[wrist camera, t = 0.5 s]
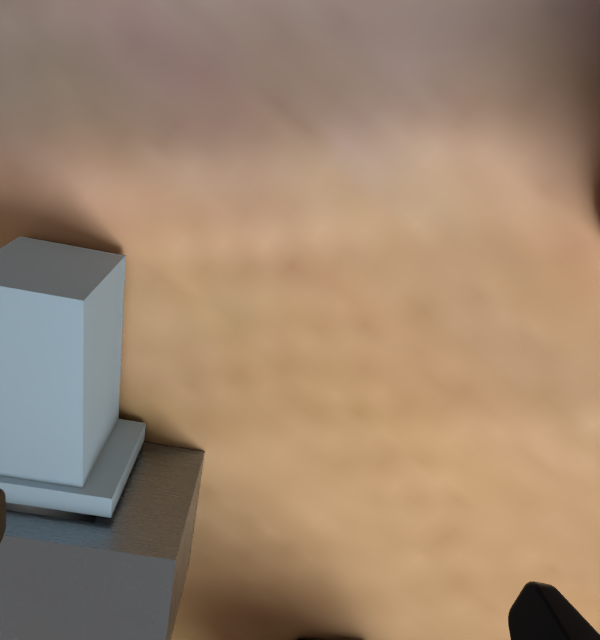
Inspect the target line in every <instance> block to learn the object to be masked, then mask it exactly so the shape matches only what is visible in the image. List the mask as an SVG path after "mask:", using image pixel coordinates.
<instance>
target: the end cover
mask: <svg viewBox="0 0 600 640" xmlns="http://www.w3.org/2000/svg"><path fill="white" fill-rule="evenodd" d="M125 260H126V255H121V254H115V253H110V252H104V251H99V250H93V249H88V248H82V247H77V246H71V245H66V244H60V243H55V242H49V241H44V240H38V239H33V238H27V237H22V236H19V237H17V238H16V239H14V240H13V241H11V242H9V243H8V244H6V245H4V246H3V247H1V248H0V489H3V491H4V492H5V496H6V510H8V511H15V512H22V513H29V514H36V515H43V516H49V517H56V518H63V519H70V520H77V521H84V522H90V523H94V522H95V520H96V518H97V516H102V517H109V518H111V517H112V514H113V512H114V510H115V507H116V505H117V503H118V500H119V498H120V496H121V493H122V491H123V489H124V486H125V484H126V482H127V479H128V477H129V475H130V472H131V470H132V468H133V465H134V463H135V461H136V458H137V456H138V454H139V452H140V449H141V447H142V445H143V442H144V439H145V426H146V423H143V422H136V421H130V420H124V419H119V397H120V374H121V351H122V328H123V305H124V282H125Z"/></svg>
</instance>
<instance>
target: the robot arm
mask: <svg viewBox="0 0 600 640" xmlns="http://www.w3.org/2000/svg"><path fill="white" fill-rule="evenodd" d="M5 530H6V496H5V492H4V491H3V489H0V543H1V541H2V539H3V536H4V533H5ZM508 624H509V631H510V637H511V640H600V635H599V634H598V632H597V631H596V630H595V629H594V628H593V627H592V626H591V625H590V624H589V623H588V622H587V621H586V620H585V619H584V618H583V616H582V615H581V614H580V613H579V612H578V611H577V610H576V609H575V608H574V607H573V606H572V605H571V604H570V603H569V602H568V600H567V599H566V598H565V597H564V596H563V595H562V594H561V593H560V592H559V591H558V590H557V589H556V588H555V587H553V586H552V585H549V584H545V583H539V582H528V583H527V584H526V585H525V586H524V588H523V589H522V591H521V592H520V594H519V596H518V597H517V599H516V600H515V602H514V604H513V605H512V607H511V609H510V611H509V616H508ZM299 640H305V639H299Z"/></svg>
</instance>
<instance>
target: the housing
mask: <svg viewBox="0 0 600 640" xmlns="http://www.w3.org/2000/svg"><path fill="white" fill-rule="evenodd" d="M203 459H204V451H198V450H192V449H185V448H179V447H173V446H166V445H160V444H154V443H147V442H143V445H142V447H141V449H140V452H139V454H138V456H137V458H136V461H135V463H134V465H133V468H132V470H131V472H130V475H129V477H128V479H127V482H126V484H125V486H124V489H123V491H122V493H121V496H120V498H119V500H118V503H117V505H116V507H115V510H114V512H113V514H112V517H111V518H109V517H102V516H97V518H96V520H95V522H94V523H90V522H84V521H77V520H70V519H63V518H56V517H49V516H43V515H36V514H29V513H22V512H15V511H8V510H6V530H5V533H4V536H3V539H2V541H1V543H0V640H171V637H172V633H173V629H174V624H175V620H176V616H177V612H178V608H179V603H180V599H181V595H182V591H183V587H184V582H185V578H186V574H187V570H188V565H189V559H190V552H191V545H192V537H193V530H194V523H195V516H196V509H197V502H198V495H199V487H200V480H201V473H202V466H203Z"/></svg>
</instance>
